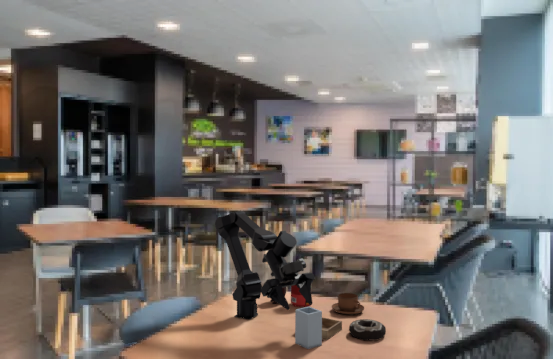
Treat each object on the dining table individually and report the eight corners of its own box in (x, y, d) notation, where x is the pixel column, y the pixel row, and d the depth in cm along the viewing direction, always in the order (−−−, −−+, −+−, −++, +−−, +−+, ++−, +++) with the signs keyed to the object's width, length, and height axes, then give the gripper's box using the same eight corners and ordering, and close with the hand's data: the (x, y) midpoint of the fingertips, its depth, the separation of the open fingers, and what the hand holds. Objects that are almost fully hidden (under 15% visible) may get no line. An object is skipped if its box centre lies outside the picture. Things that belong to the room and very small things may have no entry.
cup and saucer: (369, 310, 186) (369, 294, 185) (356, 319, 175) (356, 302, 175) (340, 305, 192) (340, 289, 192) (326, 313, 182) (326, 296, 182)
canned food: (309, 308, 187) (310, 279, 187) (289, 306, 189) (289, 278, 189) (312, 302, 195) (312, 274, 194) (292, 301, 197) (292, 273, 196)
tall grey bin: (295, 343, 152) (295, 309, 151) (308, 339, 155) (309, 306, 154) (308, 349, 147) (308, 314, 146) (321, 345, 150) (322, 311, 150)
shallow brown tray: (296, 333, 160) (296, 324, 160) (312, 323, 170) (312, 315, 170) (327, 340, 154) (327, 331, 154) (341, 329, 164) (342, 321, 164)
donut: (383, 344, 152) (383, 331, 152) (345, 339, 156) (345, 326, 156) (388, 331, 163) (388, 319, 163) (352, 327, 167) (352, 315, 167)
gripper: (266, 254, 151) (288, 297, 143) (311, 247, 163) (335, 287, 154) (251, 274, 158) (272, 317, 150) (296, 267, 169) (317, 306, 161)
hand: (300, 306), depth 153 cm, fingers open, 9 cm apart
